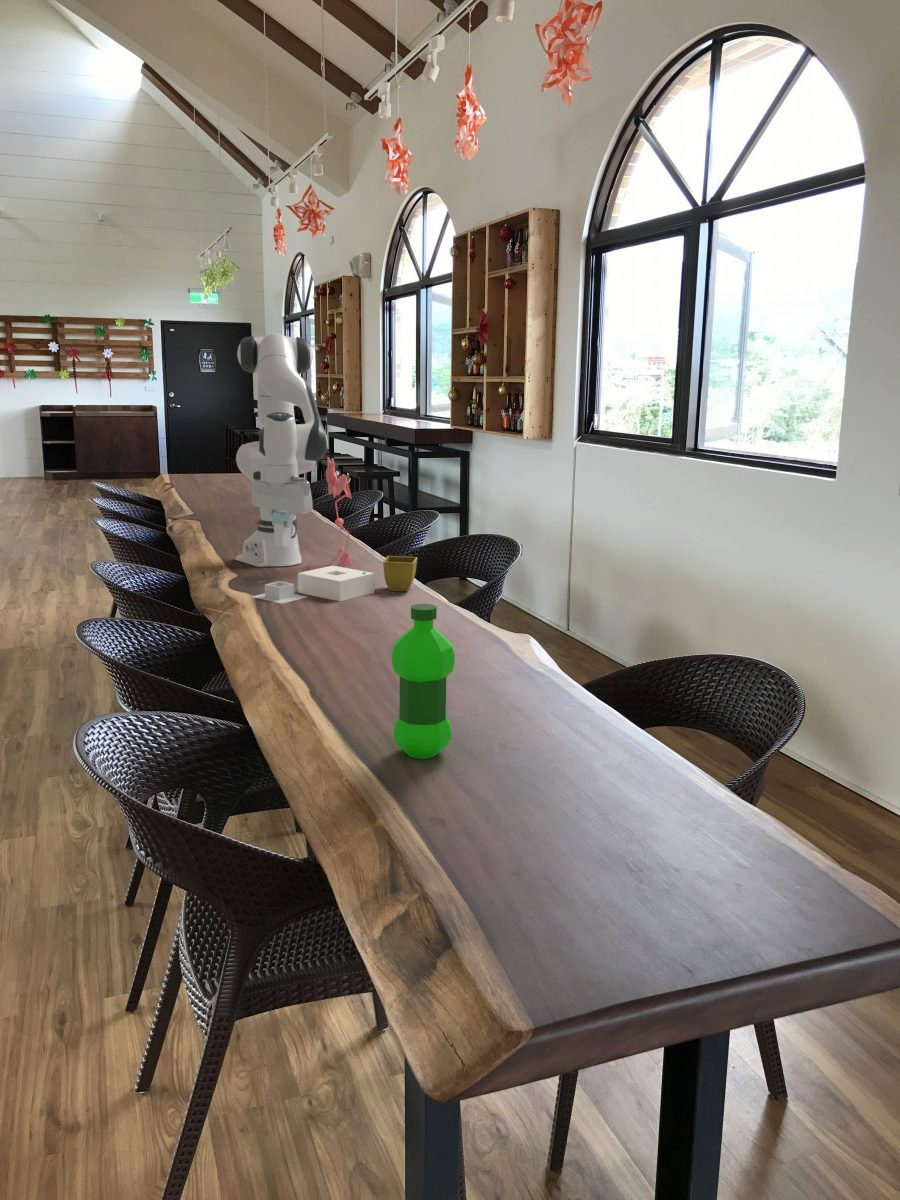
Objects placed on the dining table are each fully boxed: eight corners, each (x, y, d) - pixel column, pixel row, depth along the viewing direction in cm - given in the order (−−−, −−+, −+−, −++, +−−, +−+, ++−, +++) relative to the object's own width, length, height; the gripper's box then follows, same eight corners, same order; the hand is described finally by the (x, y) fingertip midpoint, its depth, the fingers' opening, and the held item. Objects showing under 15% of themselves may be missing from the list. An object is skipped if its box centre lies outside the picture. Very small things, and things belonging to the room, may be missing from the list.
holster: (250, 598, 261) (250, 584, 260) (277, 592, 269) (277, 578, 268) (281, 605, 254) (281, 590, 253) (308, 598, 262) (308, 584, 261)
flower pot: (417, 587, 279) (417, 556, 276) (413, 593, 270) (413, 562, 268) (387, 585, 279) (387, 555, 277) (382, 592, 271) (382, 561, 269)
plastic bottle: (451, 740, 164) (453, 599, 158) (453, 765, 154) (456, 615, 148) (392, 740, 164) (393, 598, 158) (391, 765, 154) (391, 614, 148)
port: (298, 594, 267) (297, 571, 266) (332, 585, 278) (332, 564, 277) (340, 603, 258) (340, 579, 256) (374, 594, 269) (374, 571, 267)
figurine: (347, 559, 316) (344, 452, 307) (362, 575, 292) (359, 460, 283) (301, 562, 312) (296, 454, 303) (312, 579, 288) (307, 462, 279)
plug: (274, 545, 258) (273, 512, 256) (283, 543, 261) (281, 511, 259) (282, 546, 256) (281, 513, 254) (291, 545, 259) (290, 512, 257)
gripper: (317, 477, 251) (318, 529, 254) (264, 471, 263) (265, 520, 266) (300, 479, 246) (301, 532, 249) (246, 472, 258) (248, 523, 261)
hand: (282, 526), depth 258 cm, fingers closed on plug, 3 cm apart
